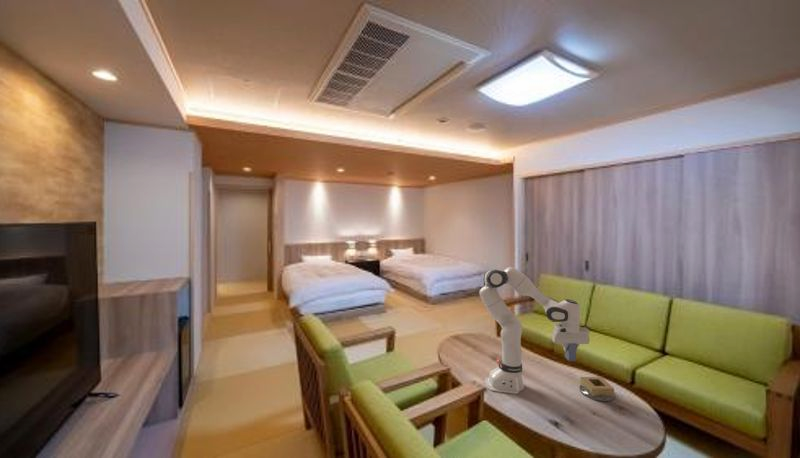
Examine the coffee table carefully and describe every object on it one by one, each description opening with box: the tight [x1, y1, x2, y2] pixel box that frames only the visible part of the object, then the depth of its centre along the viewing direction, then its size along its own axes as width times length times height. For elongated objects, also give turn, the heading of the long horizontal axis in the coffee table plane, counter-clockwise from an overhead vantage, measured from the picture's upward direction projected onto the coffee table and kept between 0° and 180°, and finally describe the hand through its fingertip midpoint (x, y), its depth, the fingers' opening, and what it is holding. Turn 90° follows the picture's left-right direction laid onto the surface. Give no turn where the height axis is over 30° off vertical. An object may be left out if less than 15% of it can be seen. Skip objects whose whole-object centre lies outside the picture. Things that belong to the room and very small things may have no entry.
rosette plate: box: [579, 376, 616, 403], centre depth 179 cm, size 17×17×6 cm
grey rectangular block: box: [564, 344, 577, 362], centre depth 183 cm, size 4×5×10 cm
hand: (570, 350), depth 183 cm, fingers closed on grey rectangular block, 4 cm apart
